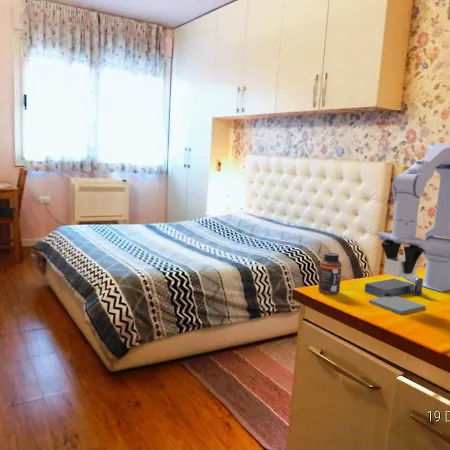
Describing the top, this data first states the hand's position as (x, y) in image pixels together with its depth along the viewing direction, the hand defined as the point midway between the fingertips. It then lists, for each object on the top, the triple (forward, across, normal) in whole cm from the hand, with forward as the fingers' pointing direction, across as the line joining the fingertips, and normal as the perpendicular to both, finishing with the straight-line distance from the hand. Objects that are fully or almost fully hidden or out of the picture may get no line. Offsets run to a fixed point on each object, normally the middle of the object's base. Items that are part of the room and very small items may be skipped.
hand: (400, 271), depth 116 cm
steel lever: (+9, -11, +17) cm, 22 cm away
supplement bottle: (+10, -17, -8) cm, 21 cm away
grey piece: (+10, -9, +8) cm, 16 cm away
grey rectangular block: (+1, 0, 0) cm, 1 cm away
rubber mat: (+10, 0, 0) cm, 10 cm away
